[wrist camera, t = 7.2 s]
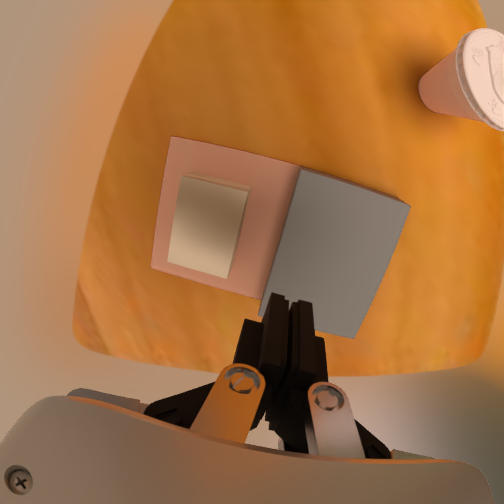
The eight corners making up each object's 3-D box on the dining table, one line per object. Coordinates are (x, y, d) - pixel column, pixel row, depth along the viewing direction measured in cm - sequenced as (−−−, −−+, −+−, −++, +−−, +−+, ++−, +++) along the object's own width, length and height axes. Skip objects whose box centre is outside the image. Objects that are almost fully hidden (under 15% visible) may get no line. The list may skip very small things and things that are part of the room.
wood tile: (247, 192, 21) (252, 186, 24) (181, 175, 21) (191, 171, 24) (226, 279, 24) (232, 266, 26) (167, 261, 24) (177, 250, 26)
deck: (299, 165, 23) (301, 169, 20) (397, 197, 23) (410, 205, 20) (261, 297, 27) (258, 315, 25) (348, 319, 27) (353, 339, 24)
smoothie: (425, 140, 21) (543, 156, 8) (389, 70, 19) (485, 14, 6) (477, 115, 19) (594, 119, 6) (445, 49, 17) (548, 5, 4)
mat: (172, 136, 23) (171, 136, 23) (299, 165, 23) (299, 166, 22) (152, 266, 28) (150, 267, 27) (261, 297, 27) (260, 299, 27)
